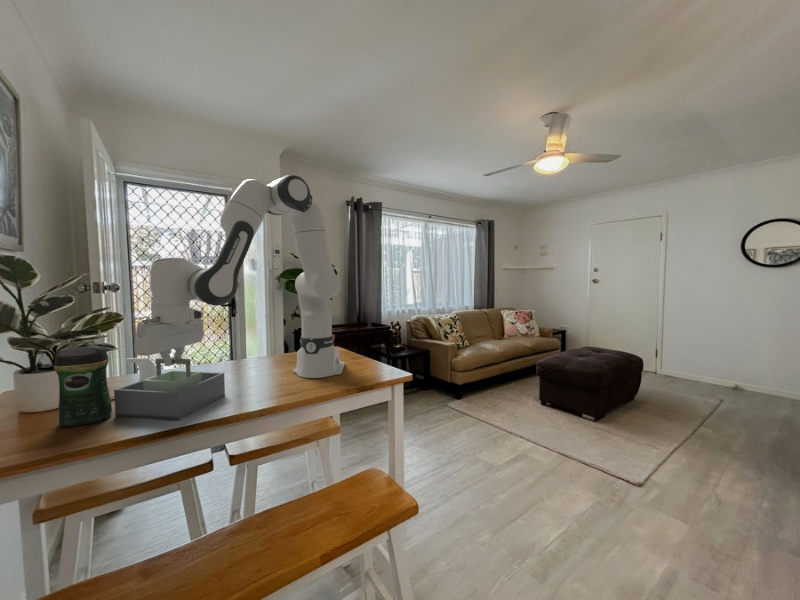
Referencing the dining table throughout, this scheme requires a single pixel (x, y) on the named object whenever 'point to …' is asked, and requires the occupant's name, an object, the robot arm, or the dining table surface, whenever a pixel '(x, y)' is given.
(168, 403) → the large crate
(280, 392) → the dining table surface
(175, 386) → the box
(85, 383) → the coffee jar
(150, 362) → the white curved piece
